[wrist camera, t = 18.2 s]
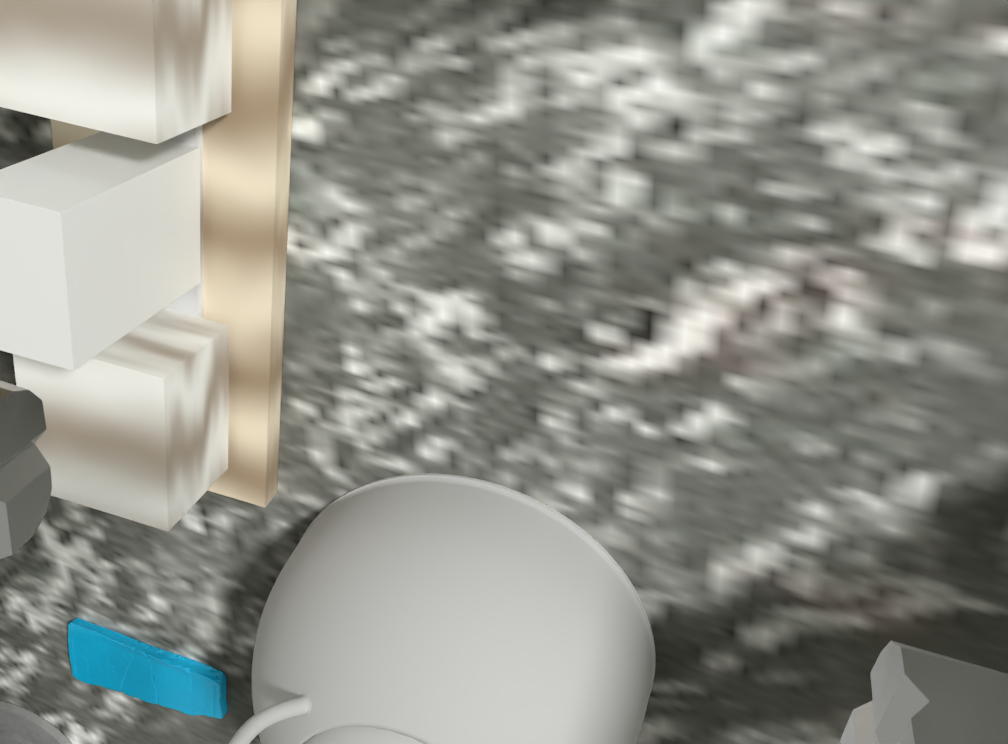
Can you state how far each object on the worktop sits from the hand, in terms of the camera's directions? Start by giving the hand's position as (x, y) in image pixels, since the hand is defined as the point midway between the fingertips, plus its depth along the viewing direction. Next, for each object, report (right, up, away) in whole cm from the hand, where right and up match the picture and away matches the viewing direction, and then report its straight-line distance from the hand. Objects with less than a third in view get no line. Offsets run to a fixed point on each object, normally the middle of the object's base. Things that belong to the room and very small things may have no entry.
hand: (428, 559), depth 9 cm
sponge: (-24, -19, +59) cm, 66 cm away
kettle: (-1, -15, +49) cm, 51 cm away
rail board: (-16, +11, +40) cm, 44 cm away
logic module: (-16, +10, +38) cm, 43 cm away
